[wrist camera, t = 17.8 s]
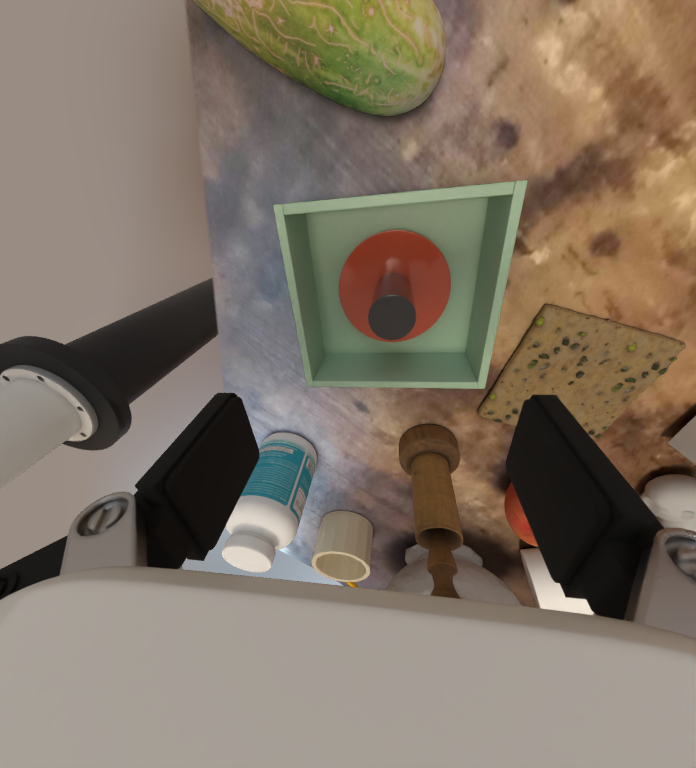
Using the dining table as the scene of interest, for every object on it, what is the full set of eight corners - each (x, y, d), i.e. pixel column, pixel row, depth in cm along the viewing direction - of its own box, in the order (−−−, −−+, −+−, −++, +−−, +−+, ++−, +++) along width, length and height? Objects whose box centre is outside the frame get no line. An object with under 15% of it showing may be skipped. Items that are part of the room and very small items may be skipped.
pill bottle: (251, 444, 38) (190, 549, 27) (288, 420, 35) (236, 527, 24) (292, 477, 41) (252, 586, 29) (330, 457, 37) (301, 571, 26)
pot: (324, 538, 48) (316, 578, 43) (317, 508, 44) (307, 548, 39) (374, 543, 47) (371, 585, 42) (372, 512, 42) (368, 555, 37)
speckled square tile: (687, 340, 23) (697, 345, 23) (585, 443, 30) (590, 450, 29) (545, 301, 23) (550, 305, 23) (474, 413, 30) (476, 419, 29)
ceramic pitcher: (365, 513, 44) (316, 787, 24) (509, 510, 37) (607, 898, 17) (403, 582, 54) (391, 814, 35) (521, 590, 47) (591, 891, 27)
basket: (321, 356, 29) (306, 387, 25) (298, 202, 22) (272, 204, 18) (469, 355, 27) (484, 389, 22) (497, 183, 20) (528, 179, 15)
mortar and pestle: (453, 466, 35) (494, 669, 20) (399, 464, 36) (399, 654, 21) (459, 424, 31) (515, 632, 17) (399, 423, 33) (399, 617, 18)
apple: (528, 507, 37) (556, 575, 30) (482, 483, 36) (501, 549, 29) (580, 477, 33) (625, 548, 26) (529, 449, 32) (564, 516, 25)
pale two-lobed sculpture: (637, 461, 32) (708, 466, 29) (629, 507, 36) (691, 515, 33) (649, 494, 29) (729, 503, 26) (640, 540, 33) (709, 553, 30)
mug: (516, 534, 40) (539, 601, 33) (597, 528, 37) (640, 600, 30) (525, 577, 46) (546, 642, 39) (596, 575, 43) (632, 645, 36)
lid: (345, 338, 27) (331, 378, 21) (335, 232, 22) (313, 246, 17) (443, 336, 26) (457, 378, 20) (455, 223, 21) (477, 235, 15)
